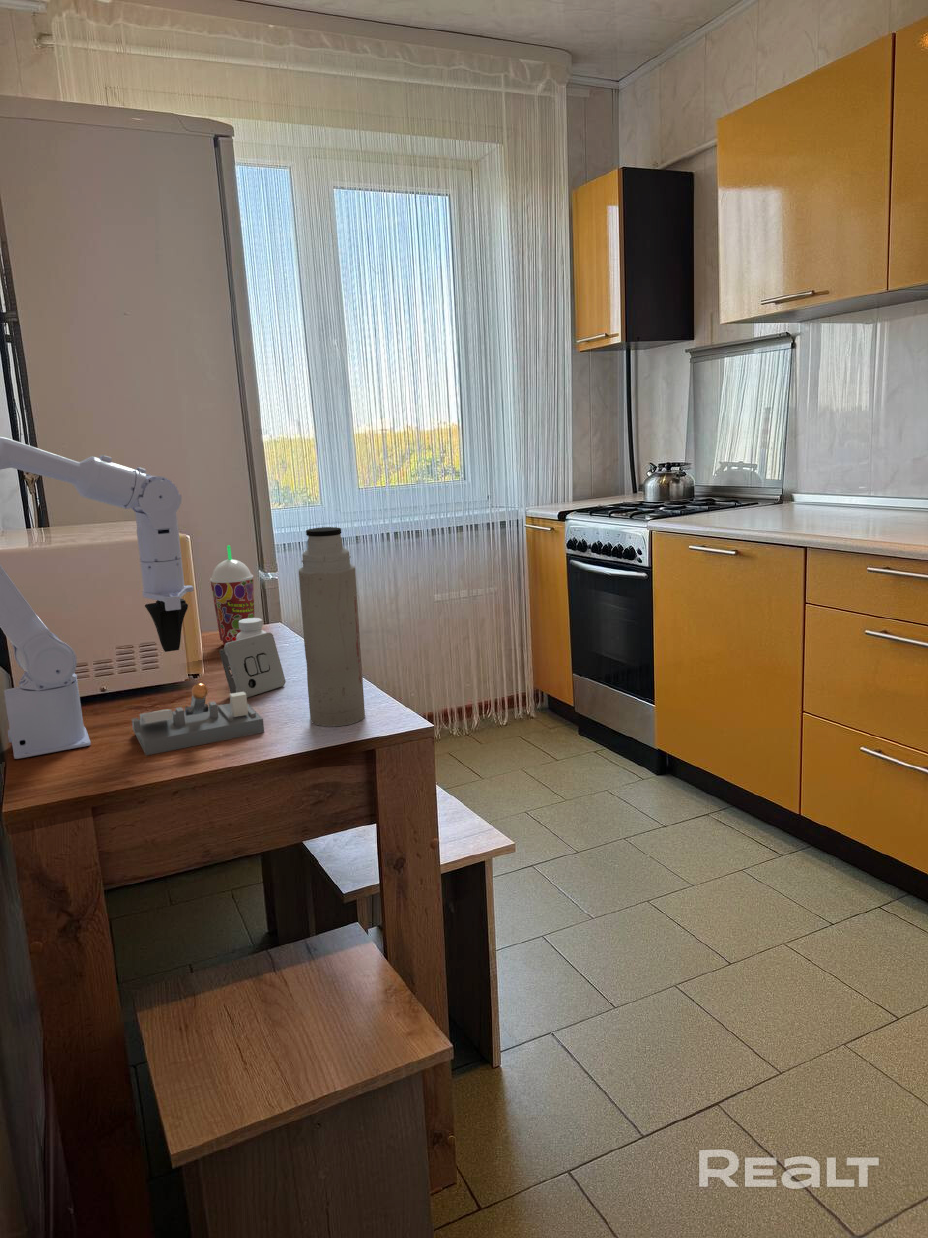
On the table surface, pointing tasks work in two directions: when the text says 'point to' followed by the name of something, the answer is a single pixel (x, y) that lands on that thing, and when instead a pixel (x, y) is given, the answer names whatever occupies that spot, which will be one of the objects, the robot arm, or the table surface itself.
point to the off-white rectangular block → (238, 704)
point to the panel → (196, 728)
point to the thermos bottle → (331, 630)
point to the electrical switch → (252, 665)
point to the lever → (198, 700)
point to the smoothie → (232, 596)
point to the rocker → (156, 716)
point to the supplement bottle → (249, 628)
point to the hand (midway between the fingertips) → (171, 650)
